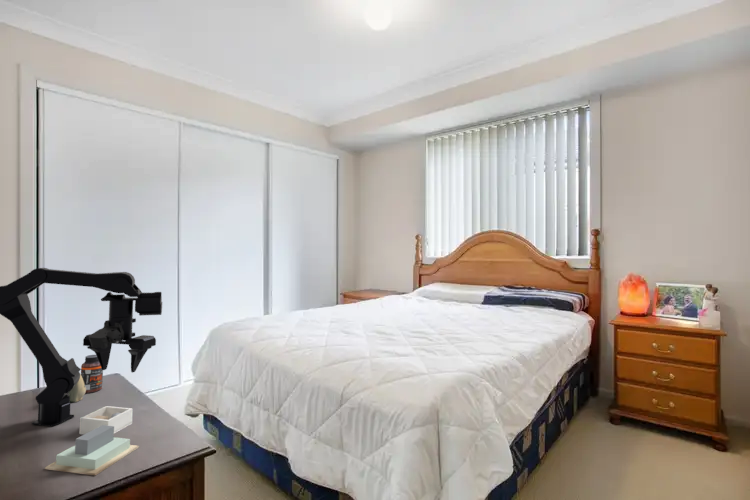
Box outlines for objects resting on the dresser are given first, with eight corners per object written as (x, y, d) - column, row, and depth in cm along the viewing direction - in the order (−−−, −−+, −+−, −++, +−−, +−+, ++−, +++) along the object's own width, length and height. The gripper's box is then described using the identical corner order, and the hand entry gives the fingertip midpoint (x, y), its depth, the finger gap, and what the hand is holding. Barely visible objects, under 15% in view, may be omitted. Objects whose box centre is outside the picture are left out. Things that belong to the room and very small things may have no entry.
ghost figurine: (59, 400, 119) (60, 374, 119) (78, 395, 124) (79, 370, 124) (69, 404, 116) (71, 377, 116) (89, 398, 121) (90, 373, 121)
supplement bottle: (90, 394, 125) (91, 358, 125) (75, 392, 126) (76, 357, 126) (106, 388, 131) (108, 354, 131) (91, 386, 132) (93, 352, 132)
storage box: (79, 433, 98) (80, 418, 98) (105, 420, 106) (106, 406, 106) (107, 437, 97) (108, 420, 97) (132, 423, 105) (132, 408, 105)
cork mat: (45, 469, 82) (45, 467, 82) (93, 442, 94) (93, 440, 94) (95, 475, 81) (95, 473, 81) (138, 447, 92) (138, 445, 92)
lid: (55, 464, 83) (57, 440, 84) (94, 443, 93) (95, 421, 93) (95, 469, 82) (96, 444, 82) (129, 447, 91) (130, 425, 92)
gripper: (66, 318, 105) (63, 377, 105) (128, 322, 102) (126, 382, 102) (100, 312, 116) (98, 365, 116) (158, 316, 113) (156, 370, 113)
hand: (118, 370), depth 111 cm, fingers open, 9 cm apart
